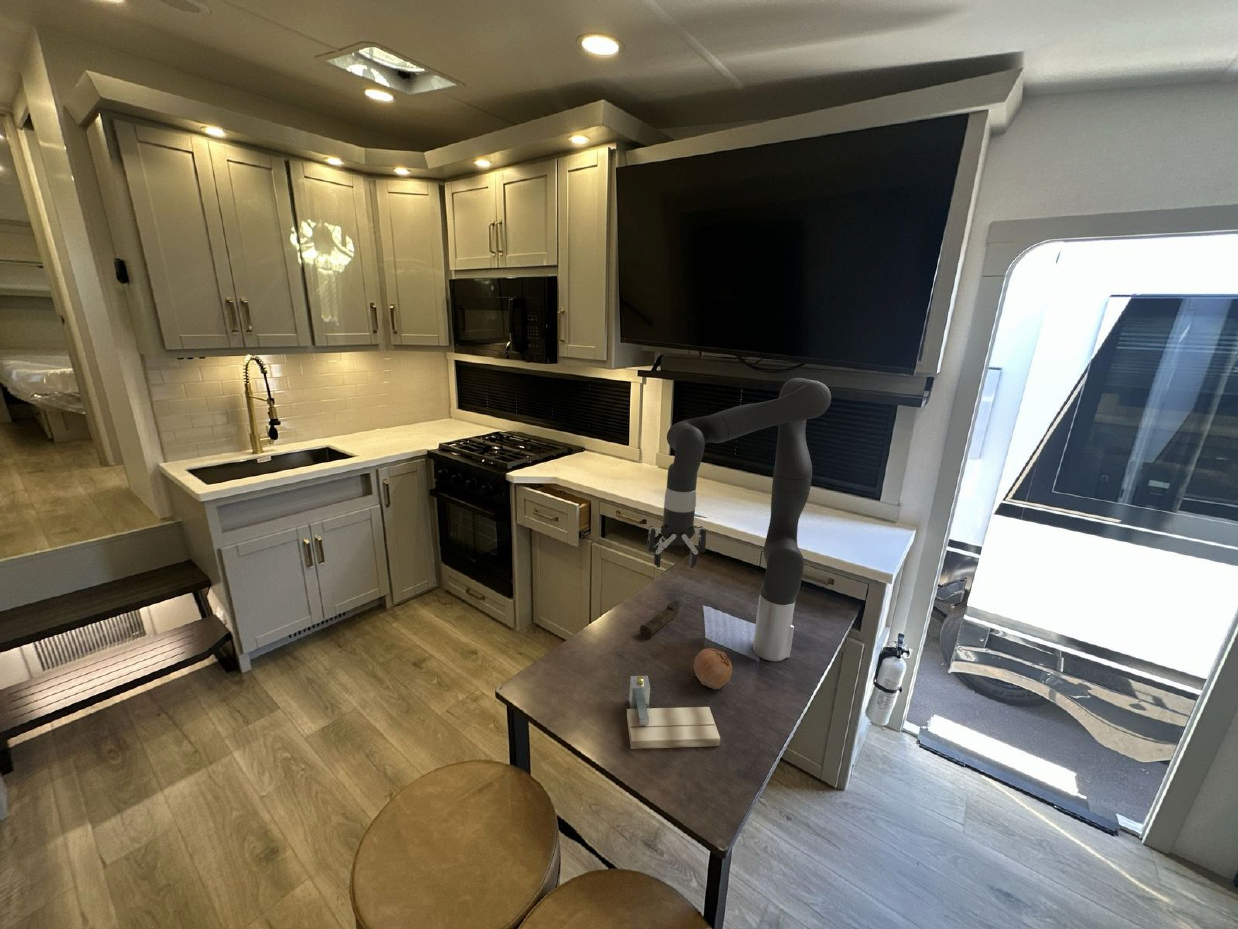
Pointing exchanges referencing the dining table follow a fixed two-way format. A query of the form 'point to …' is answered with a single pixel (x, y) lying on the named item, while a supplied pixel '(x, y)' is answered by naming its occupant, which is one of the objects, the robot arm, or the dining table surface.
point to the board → (673, 728)
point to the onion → (713, 668)
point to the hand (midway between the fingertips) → (674, 566)
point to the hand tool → (660, 620)
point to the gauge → (640, 697)
